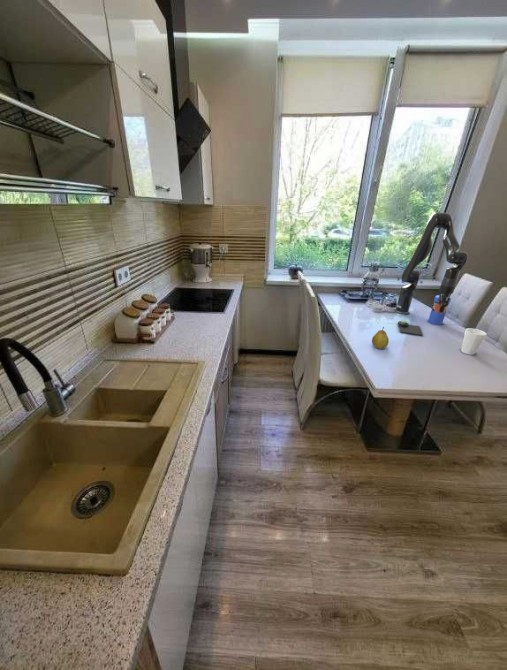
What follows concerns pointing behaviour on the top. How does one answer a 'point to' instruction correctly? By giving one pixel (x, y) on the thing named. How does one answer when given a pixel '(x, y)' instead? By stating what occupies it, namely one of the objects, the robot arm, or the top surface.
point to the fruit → (380, 339)
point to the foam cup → (472, 340)
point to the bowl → (439, 308)
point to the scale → (409, 329)
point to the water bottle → (437, 317)
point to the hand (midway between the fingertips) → (439, 310)
